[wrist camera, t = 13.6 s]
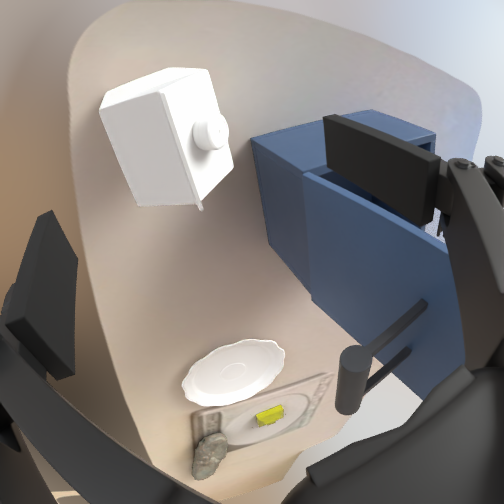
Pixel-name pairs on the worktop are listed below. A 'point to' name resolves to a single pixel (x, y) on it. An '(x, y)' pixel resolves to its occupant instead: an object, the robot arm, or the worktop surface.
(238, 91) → the worktop surface
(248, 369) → the plate
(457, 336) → the cool box lid
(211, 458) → the elongated rock
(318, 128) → the cool box
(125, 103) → the milk carton
